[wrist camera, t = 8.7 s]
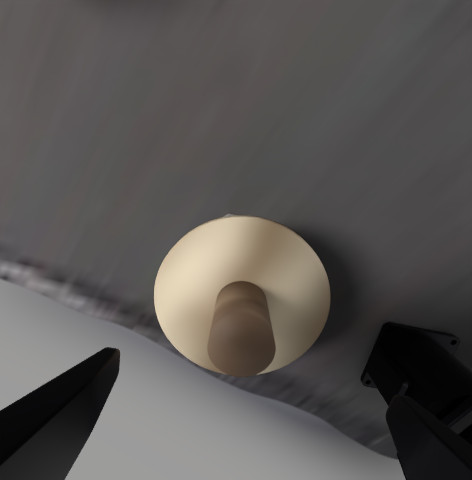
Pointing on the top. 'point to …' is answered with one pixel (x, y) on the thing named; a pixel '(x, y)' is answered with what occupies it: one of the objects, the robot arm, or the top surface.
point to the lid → (242, 295)
